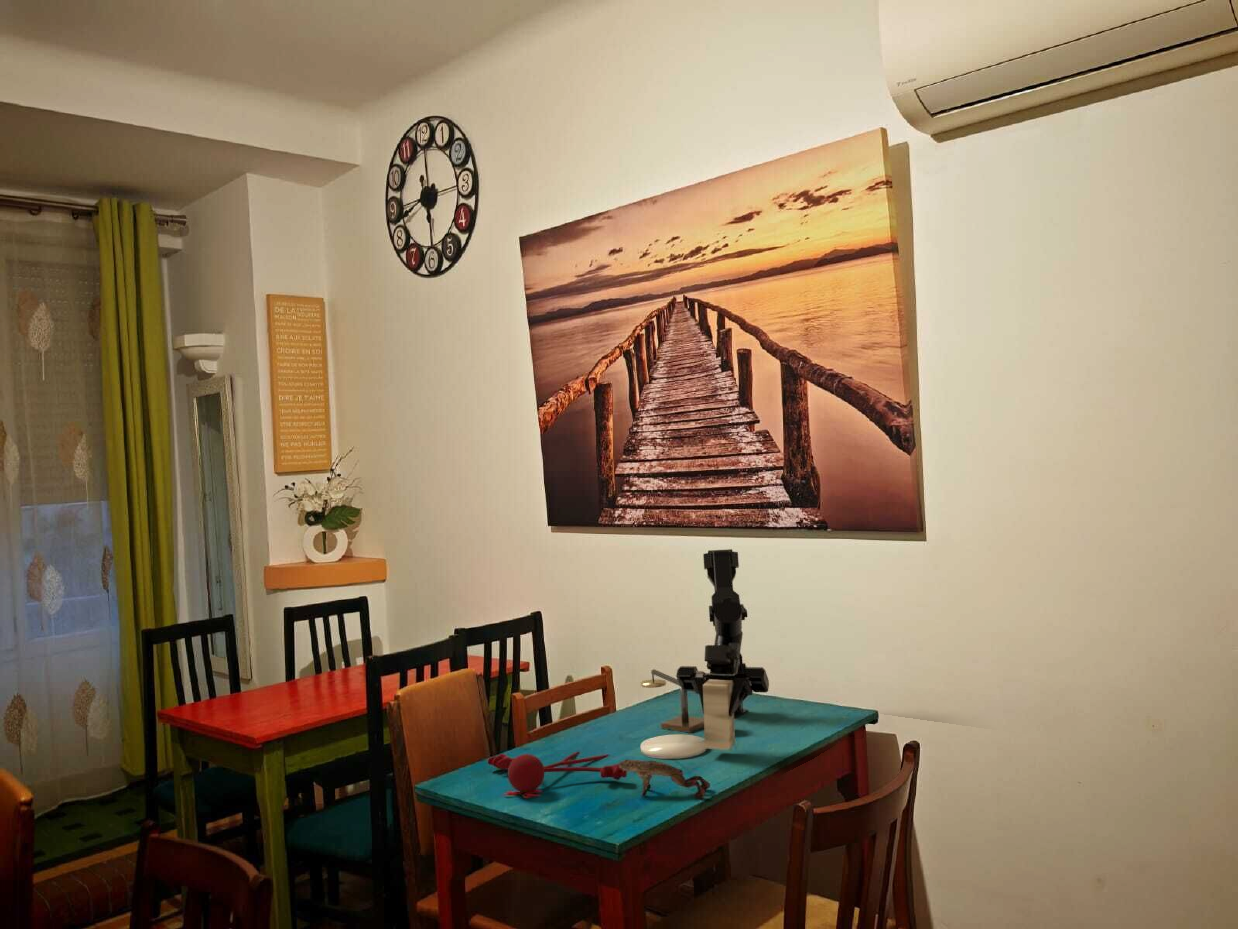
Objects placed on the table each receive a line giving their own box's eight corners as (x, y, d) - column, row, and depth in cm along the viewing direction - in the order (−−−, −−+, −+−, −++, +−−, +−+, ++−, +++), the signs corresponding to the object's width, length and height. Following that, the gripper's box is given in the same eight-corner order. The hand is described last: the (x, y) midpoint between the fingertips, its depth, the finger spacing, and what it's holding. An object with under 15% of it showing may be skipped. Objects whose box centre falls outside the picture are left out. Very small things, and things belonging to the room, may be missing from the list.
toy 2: (684, 820, 192) (618, 765, 195) (712, 782, 190) (645, 728, 193) (678, 831, 186) (610, 775, 189) (707, 793, 184) (638, 737, 188)
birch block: (711, 741, 214) (709, 679, 214) (734, 742, 212) (732, 680, 212) (705, 748, 210) (702, 685, 209) (728, 750, 208) (726, 686, 207)
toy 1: (533, 766, 225) (449, 789, 199) (534, 731, 226) (451, 750, 199) (664, 780, 210) (593, 808, 184) (664, 743, 211) (593, 765, 185)
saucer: (667, 737, 227) (667, 731, 227) (719, 745, 218) (719, 739, 218) (627, 753, 217) (627, 747, 217) (680, 762, 208) (680, 756, 208)
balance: (656, 716, 246) (652, 665, 246) (738, 728, 231) (734, 673, 231) (635, 724, 240) (632, 672, 240) (718, 737, 225) (714, 681, 225)
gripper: (675, 628, 218) (663, 693, 207) (762, 628, 211) (754, 695, 201) (688, 657, 225) (677, 721, 215) (772, 658, 219) (765, 724, 208)
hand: (717, 715), depth 210 cm, fingers closed on birch block, 5 cm apart
